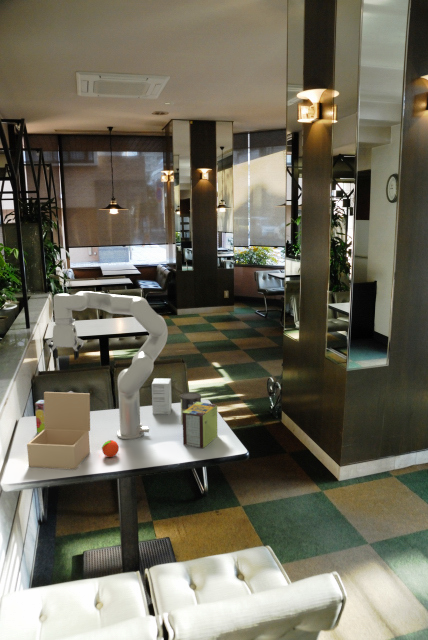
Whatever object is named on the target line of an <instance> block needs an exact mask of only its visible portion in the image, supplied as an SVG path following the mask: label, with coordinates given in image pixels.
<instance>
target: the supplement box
mask: <svg viewBox="0 0 428 640" xmlns="http://www.w3.org/2000/svg"><path fill="white" fill-rule="evenodd" d="M151 398H152V399H151V403H152V405H151V406H152V407H151V408H152V415H170V414H171V411H172V407H173V406H172V379H171V378H169V377H168V378H161V377H160V378H157V377H156V378H153V381H152V383H151Z"/></svg>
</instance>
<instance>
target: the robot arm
mask: <svg viewBox="0 0 428 640" xmlns="http://www.w3.org/2000/svg"><path fill="white" fill-rule="evenodd" d="M88 308H89V309H98V310H102V311H105V312H108V313H109V314H114V315H115V314H116V315H117V314H118V315H129V316H130V315H131V316H132V317H133V318H134V319H135V320H136V321H137V323H138V324H140V325H141V326H142V327H143V328H144V330H145V331H146V332H147V333H148V334H149V335H148V337H147V339H146V340H145V342H144V343H143V345H142V346H141V347H140V348H139V350H138V351H137V352H136V353H135V354H134V355H133V357H132V360H131V364H130V366H129V367H128V368H124V369H122V370H121V371H120V372H119V374H118V377H117V390H118V391H117V392H118V412H119V413H118V414H119V415H118V417H119V430H117V432H116V436H117V438H119V439H123V440H134V439H139V438H141V437H143V436H144V433H149V432H150V428H149V427H148V426H143V423H141V411H140V410H141V407H140V389H141V388H142V386H143V385H144V383H145V382H146V381H147V380H148V378H149V377H150V376H151V374H152V372H153V370H154V367H155V366H154V362H155V361H156V359H157V358H158V356H159V355H160V353H161V352H162V350H163V349H164V348H165V346H166V343H167V340H168V335H169V334H168V333H169V331H168V325H167V323H166V321H165V318H164V317H163V316H162V315H160V314H158V313H157V312H156V311H155V310H154V309H153V308H152V307H151V305H150V304H149V302H148V301H147V299H146V298H144V297H143V296H142V297H141V296H135V295H123V294H122V295H121V294H112V293H103V292H96V291H95V292H94V291H83V290H81V291H77V292H76V293H74V294H69V293H56V294H54V295H53V310H54V311H53V312H54V324H53V329H52V337H51V338H49V339H46V344H47V346H48V348H49V349H50V350H51V351H52V358H53V360H56V359H58V358H59V354H58V353H59V352H58V347H59V348H72V349H73V360H75V361H76V360H79V357H80V350H81V348H82V347H83V346H84V344H85V340H83V339H81V338H80V337H78V334H77V328H76V324H75V323H76V318H74V317H73V311H77V312H78V311H79V312H81V311H84V310H86V309H88ZM78 343H79V344H78Z"/></svg>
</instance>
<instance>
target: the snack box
mask: <svg viewBox="0 0 428 640" xmlns="http://www.w3.org/2000/svg"><path fill="white" fill-rule="evenodd" d="M34 409H35V423H36V432H37V433H38V434H39V433H41V432H42V431H43V430H44V429H45V425H44V399H38V400H37V401H36V402H35V403H34Z"/></svg>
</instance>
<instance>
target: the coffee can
mask: <svg viewBox="0 0 428 640" xmlns="http://www.w3.org/2000/svg"><path fill="white" fill-rule="evenodd" d="M196 402H202V394H201V393H198V392H195V391H194V392H192V391H191V392H190V391H189V392H183V393H181V394H180V423H181V425H183V412H184V411H185V410H187V409H188V408H189V407H191V406H192V405H194V404H195V403H196Z"/></svg>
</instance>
